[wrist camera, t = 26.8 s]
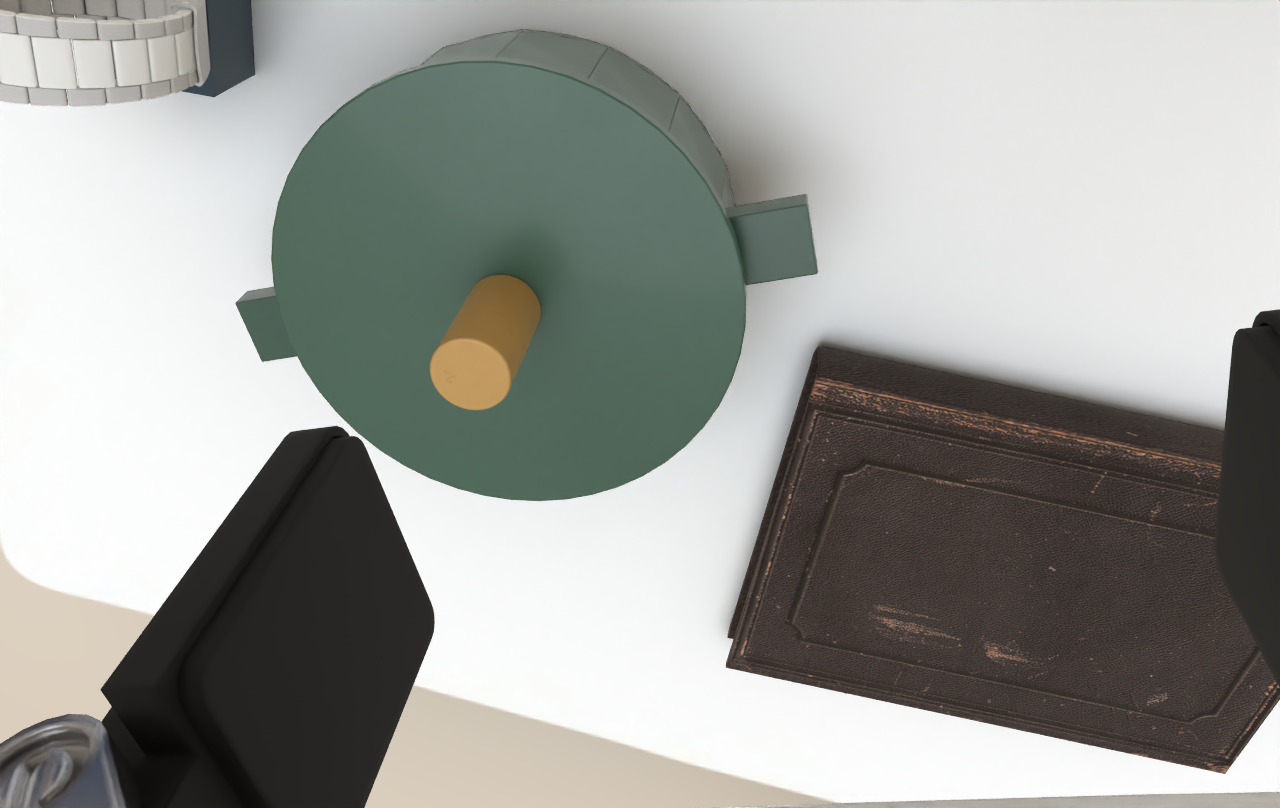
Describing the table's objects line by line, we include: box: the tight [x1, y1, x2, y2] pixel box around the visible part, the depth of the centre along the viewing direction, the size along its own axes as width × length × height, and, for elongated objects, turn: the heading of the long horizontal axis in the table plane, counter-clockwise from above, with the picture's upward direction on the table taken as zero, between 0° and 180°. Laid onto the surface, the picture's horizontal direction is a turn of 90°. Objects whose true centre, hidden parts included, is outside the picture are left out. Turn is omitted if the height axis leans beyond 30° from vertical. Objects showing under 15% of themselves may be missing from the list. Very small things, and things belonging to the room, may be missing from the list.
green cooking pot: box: [236, 30, 818, 362], centre depth 36 cm, size 15×20×6 cm
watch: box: [0, 0, 255, 107], centre depth 31 cm, size 6×8×11 cm
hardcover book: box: [726, 346, 1280, 774], centre depth 43 cm, size 16×23×2 cm
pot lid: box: [271, 57, 746, 501], centre depth 32 cm, size 16×16×6 cm
